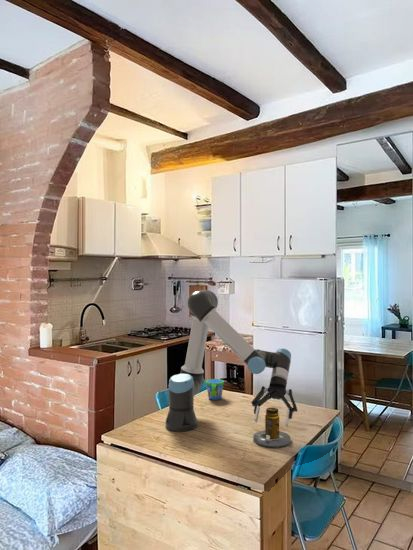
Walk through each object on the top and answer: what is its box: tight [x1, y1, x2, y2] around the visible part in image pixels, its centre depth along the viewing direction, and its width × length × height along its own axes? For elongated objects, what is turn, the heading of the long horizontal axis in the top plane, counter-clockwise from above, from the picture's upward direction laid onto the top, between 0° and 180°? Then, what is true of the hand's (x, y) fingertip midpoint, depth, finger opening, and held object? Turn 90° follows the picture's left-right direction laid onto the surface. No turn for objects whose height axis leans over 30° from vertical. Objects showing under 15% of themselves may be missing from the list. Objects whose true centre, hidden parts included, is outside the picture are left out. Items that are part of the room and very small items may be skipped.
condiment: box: [258, 407, 283, 441], centre depth 183 cm, size 7×8×12 cm
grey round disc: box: [252, 429, 292, 449], centre depth 183 cm, size 16×16×4 cm
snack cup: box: [205, 378, 225, 401], centre depth 244 cm, size 16×10×10 cm
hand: (270, 423), depth 181 cm, fingers open, 13 cm apart
